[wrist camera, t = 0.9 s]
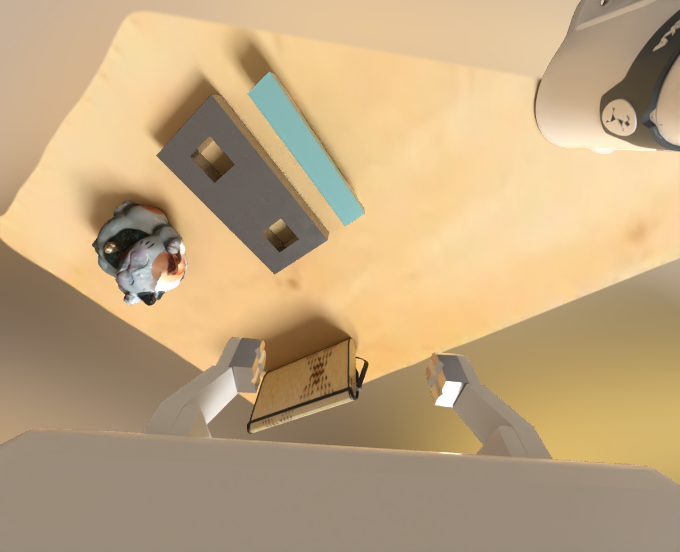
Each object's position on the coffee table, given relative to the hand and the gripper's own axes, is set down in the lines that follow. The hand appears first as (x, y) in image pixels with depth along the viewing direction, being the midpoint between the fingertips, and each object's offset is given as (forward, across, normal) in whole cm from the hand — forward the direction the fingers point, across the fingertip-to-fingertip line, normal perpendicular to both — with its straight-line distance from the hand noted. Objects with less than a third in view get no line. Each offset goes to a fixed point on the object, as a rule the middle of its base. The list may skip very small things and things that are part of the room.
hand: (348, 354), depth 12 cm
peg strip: (+33, +5, -4) cm, 34 cm away
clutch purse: (+34, +4, +43) cm, 55 cm away
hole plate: (+33, +15, +3) cm, 36 cm away
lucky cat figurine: (+34, +33, +12) cm, 48 cm away
